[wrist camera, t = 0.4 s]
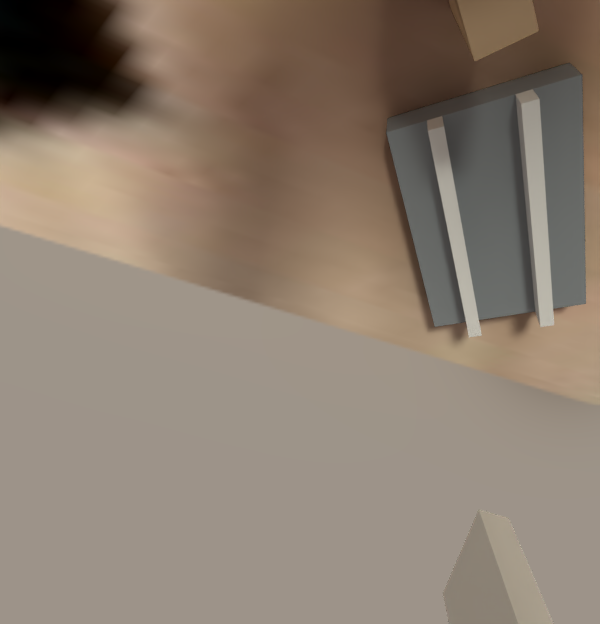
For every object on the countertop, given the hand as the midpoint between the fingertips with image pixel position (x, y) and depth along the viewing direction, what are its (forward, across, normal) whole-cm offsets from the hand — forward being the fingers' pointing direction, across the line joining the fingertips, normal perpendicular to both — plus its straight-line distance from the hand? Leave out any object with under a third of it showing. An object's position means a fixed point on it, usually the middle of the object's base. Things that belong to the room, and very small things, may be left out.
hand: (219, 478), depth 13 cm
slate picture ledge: (+30, +12, +9) cm, 34 cm away
